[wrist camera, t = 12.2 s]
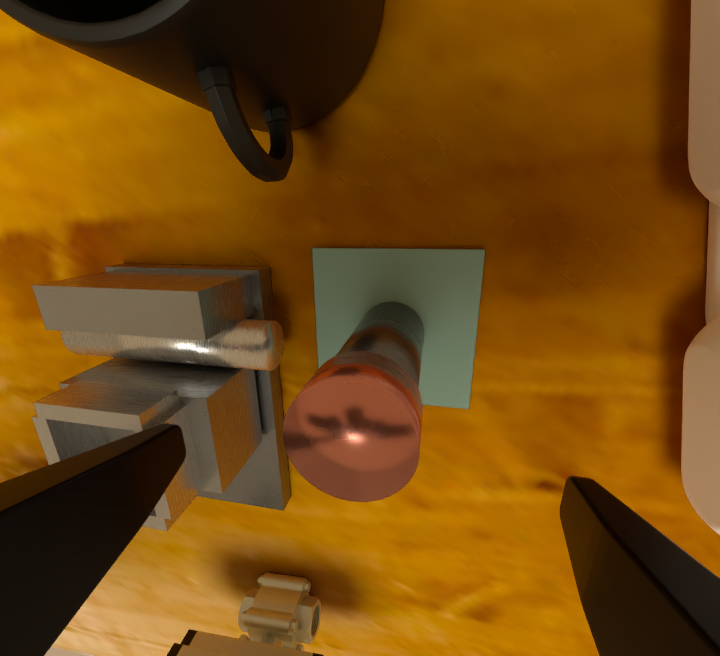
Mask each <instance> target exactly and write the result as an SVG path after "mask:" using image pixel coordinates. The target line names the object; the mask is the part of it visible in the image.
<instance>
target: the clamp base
mask: <svg viewBox="0 0 720 656" xmlns="http://www.w3.org/2000/svg"><path fill="white" fill-rule="evenodd" d="M105 270H106V272H103V273H98V274H92V275H87V276H81V277H76V278H70V279H64V280H59V281H53V282H48V283H42V284H37V285H32V287H33V290H34V293H35V296H36V299H37V302H38V306H39V309H40V312H41V315H42V318H43V321H44V324H45V328H46V330H60V331H62V340H63V343H64V344H65V346H66V347H67V349H69V350H70V351H71V352H73V353H75V354H79V355H91V356H102V357H114V358H126V359H138V360H149V361H161V362H173V363H185V364H196V365H208V366H220V367H232V368H244V369H254V372H255V381H256V389H257V397H258V406H259V414H260V423H261V431H262V439H263V441H262V442H261V444H260V445H259V446H258V448H257V449H256V450H255V452H254V453H253V454H252V455H251V457H250V458H249V459H248V461H247V462H246V463H245V465H244V466H243V467H242V469H241V470H240V471H239V473H238V474H237V475H236V477H235V478H234V479H233V481H232V482H231V483H230V485H229V486H228V487H227V489H226V490H225V491H224V493H223V494H220V493H214V492H208V491H202V490H197V493H198V495H197V496H201V497H207V498H212V499H218V500H224V501H230V502H236V503H242V504H248V505H254V506H260V507H266V508H272V509H277V510H283V511H284V509H285V507H286V505H287V503H288V501H289V499H290V497H291V489H290V478H289V467H288V457H287V452H286V449H285V446H284V441H283V422H284V414H283V403H282V392H281V381H280V371H279V363H280V361H281V358H282V354H283V348H284V336H283V330H282V327H281V325H280V324H279V323H278V322H277V321H275V317H274V306H273V295H272V285H271V274H270V267H256V266H209V265H163V264H118V265H112V266H106V267H105Z"/></svg>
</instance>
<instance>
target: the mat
mask: <svg viewBox="0 0 720 656" xmlns="http://www.w3.org/2000/svg"><path fill="white" fill-rule="evenodd" d="M312 256H313V275H314V294H315V313H316V332H317V350H318V369H319V368H320V367H321V366H322V365H323V364H324V363H325V362H326V361H327V360H329V359H331V358H332V357H334V356H336V355H337V353H338V352H339V351H340V349H341V348H342V347H343V345H344V344H345V342H346V341H347V340H348V338H349V337H350V335H351V334H352V333H353V331H354V330H355V328H356V327H357V326H358V324H359V323H360V322H361V320H362V319H363V317H364V316H365V315H366V313H367V312H368V311H369V310H370V309H371V308H372V307H374V306H375V305H377V304H380V303H383V302H391V301H393V302H399V303H403V304H405V305H407V306H409V307H410V308H412V309H413V310H414V311H415V312H416V313H417V314H418V315H419V317H420V318H421V320H422V323H423V326H424V343H423V352H422V361H421V370H420V378H419V387H418V389H419V391H420V395H421V398H422V404H423V405H433V406H443V407H454V408H464V409H469V403H470V393H471V383H472V374H473V364H474V354H475V345H476V335H477V325H478V316H479V306H480V297H481V287H482V277H483V268H484V258H485V249H416V248H312Z"/></svg>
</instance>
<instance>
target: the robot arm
mask: <svg viewBox="0 0 720 656" xmlns="http://www.w3.org/2000/svg"><path fill="white" fill-rule="evenodd" d="M185 458H186V447H185V442H184V438H183V433H182V429H181V427H180V426H179V425H176V424H169V423H162V424H159V425H157V426H154V427H151V428H148V429H146V430H143V431H140V432H138V433H135V434H132V435H129V436H127V437H124V438H121V439H119V440H116V441H113V442H110V443H108V444H105V445H102V446H100V447H97V448H94V449H91V450H89V451H86V452H83V453H81V454H78V455H75V456H72V457H70V458H67V459H64V460H62V461H59V462H56V463H53V464H51V465H48V466H45V467H43V468H40V469H37V470H35V471H32V472H29V473H26V474H24V475H21V476H18V477H16V478H13V479H10V480H7V481H5V482H2V483H0V656H44V655H45V654H46V652H47V651H48V650H49V648H50V647H51V646H52V644H53V643H54V642H55V641H56V639H57V638H58V637H59V635H60V634H61V633H62V631H63V630H64V629H65V627H66V626H67V625H68V623H69V622H70V621H71V619H72V618H73V617H74V615H75V614H76V613H77V611H78V610H79V609H80V607H81V606H82V605H83V603H84V602H85V601H86V600H87V598H88V597H89V596H90V594H91V593H92V592H93V590H94V589H95V588H96V586H97V585H98V584H99V582H100V581H101V580H102V578H103V577H104V576H105V574H106V573H107V572H108V570H109V569H110V568H111V566H112V565H113V564H114V563H115V561H116V560H117V559H118V557H119V556H120V555H121V553H122V552H123V551H124V549H125V548H126V547H127V545H128V544H129V543H130V541H131V540H132V539H133V537H134V536H135V535H136V533H137V532H138V531H139V529H140V528H141V527H142V525H143V524H144V523H145V521H146V520H147V519H148V517H149V516H150V514H151V513H152V511H153V510H154V508H155V506H156V505H157V503H158V502H159V500H160V499H161V497H162V495H163V494H164V492H165V491H166V489H167V488H168V486H169V484H170V483H171V481H172V480H173V478H174V476H175V475H176V473H177V472H178V470H179V469H180V467H181V465H182V464H183V462H184V460H185ZM560 519H561V523H562V527H563V531H564V535H565V539H566V543H567V548H568V552H569V556H570V560H571V564H572V568H573V572H574V576H575V580H576V584H577V588H578V592H579V596H580V600H581V603H582V606H583V609H584V612H585V615H586V618H587V621H588V624H589V627H590V630H591V633H592V636H593V638H594V641H595V644H596V647H597V650H598V653H599V655H600V656H720V578H719V577H717V576H716V575H715V574H713V573H712V572H711V571H710V570H708V569H707V568H706V567H704V566H703V565H702V564H701V563H699V562H698V561H697V560H696V559H694V558H693V557H692V556H690V555H689V554H688V553H687V552H685V551H684V550H683V549H681V548H680V547H679V546H678V545H676V544H675V543H674V542H672V541H671V540H670V539H669V538H667V537H666V536H665V535H663V534H662V533H661V532H660V531H658V530H657V529H656V528H655V527H653V526H652V525H651V524H649V523H648V522H647V521H646V520H644V519H643V518H642V517H640V516H639V515H638V514H637V513H635V512H634V511H633V510H631V509H630V508H629V507H628V506H626V505H625V504H624V503H623V502H621V501H620V500H619V499H617V498H616V497H615V496H614V495H612V494H611V493H610V492H608V491H607V490H606V489H605V488H603V487H602V486H601V485H599V484H598V483H597V482H596V481H594V480H593V479H591V478H585V477H578V476H570V477H568V478H567V480H566V483H565V487H564V491H563V496H562V500H561V505H560Z"/></svg>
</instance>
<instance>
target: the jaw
mask: <svg viewBox="0 0 720 656" xmlns="http://www.w3.org/2000/svg"><path fill="white" fill-rule="evenodd" d="M59 385H60V388H61V390H59V391H57V392H55V393H52V394H50V395H48V396H46V397H44V398H42V399H40V400H38V401H36V402H33V404H34V407H35V409H36V412H37V415H35V416H33V417H32V419H33V422H34V425H35V428H36V430H37V433H38V436H39V439H40V441H41V444H42V447H43V450H44V453H45V455H46V458H47V461H48V464H49V465H51V464H53V463H56V462H59V461H62V460H64V459H67V458H70V457H72V456H75V455H78V454H81V453H83V452H86V451H89V450H91V449H94V448H97V447H100V446H102V445H105V444H108V443H110V442H113V441H116V440H119V439H121V438H124V437H127V436H129V435H132V434H135V433H138V432H140V431H143V430H146V429H148V428H151V427H154V426H157V425H159V424H162V423H169V424H176V425H179V426H180V427H181V429H182V433H183V438H184V442H185V447H186V458H185V460H184V462H183V464H182V465H181V467H180V469H179V470H178V472H177V473H176V475H175V476H174V478H173V480H172V481H171V483H170V484H169V486H168V488H167V489H166V491H165V492H164V494H163V495H162V497H161V499H160V500H159V502H158V503H157V505H156V506H155V508H154V510H153V511H152V513H151V514H150V516H149V517H148V519H147V520H146V521H145V523H144V524H143V525H142V526H144V527H149V528H154V529H159V530H164V531H168V530H169V528H170V527H171V526H172V525H173V524H174V522H175V521H176V520H177V519H178V518H179V516H180V515H181V514H182V513H183V512H184V511H185V509H186V508H187V507H188V506H189V505H190V503H191V502H192V501H193V500H194V499H195V497H196V496H197V495H198V493H197V490H202V491H208V492H214V493H220V494H223V493H224V491H225V490H226V489H227V487H228V486H229V485H230V483H231V482H232V481H233V479H234V478H235V477H236V475H237V474H238V473H239V471H240V470H241V469H242V467H243V466H244V465H245V463H246V462H247V461H248V459H249V458H250V457H251V455H252V454H253V453H254V452H255V450H256V449H257V448H258V446H259V445H260V444H261V442H262V441H263V439H262V431H261V423H260V414H259V406H258V397H257V389H256V381H255V372H254V369H244V368H232V367H220V366H208V365H196V364H185V363H173V362H161V361H149V360H138V359H126V358H113V359H111V360H109V361H107V362H105V363H102V364H100V365H98V366H96V367H94V368H91V369H89V370H87V371H85V372H83V373H80V374H78V375H76V376H74V377H72V378H69V379H67V380H65V381H63V382H61V383H59Z"/></svg>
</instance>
